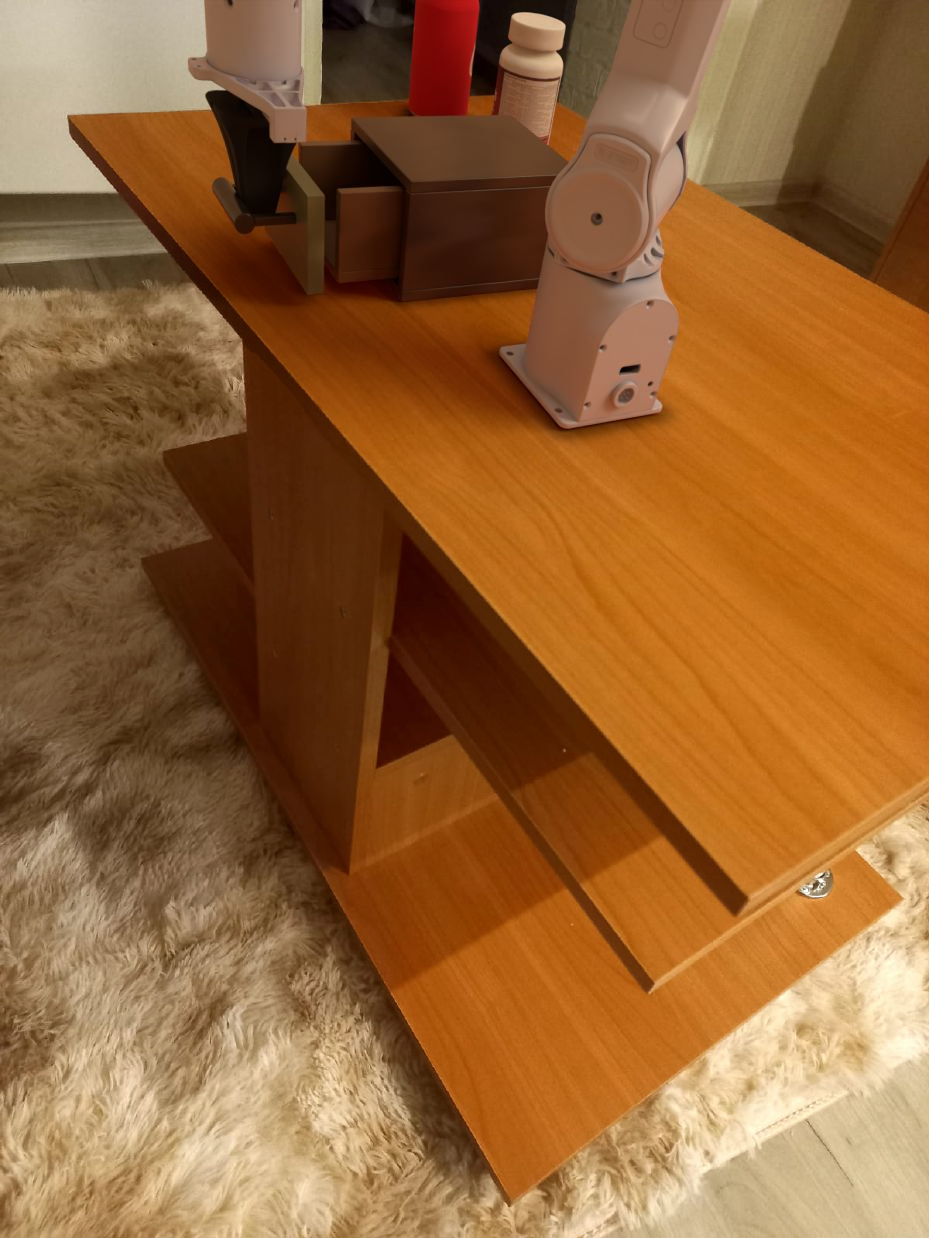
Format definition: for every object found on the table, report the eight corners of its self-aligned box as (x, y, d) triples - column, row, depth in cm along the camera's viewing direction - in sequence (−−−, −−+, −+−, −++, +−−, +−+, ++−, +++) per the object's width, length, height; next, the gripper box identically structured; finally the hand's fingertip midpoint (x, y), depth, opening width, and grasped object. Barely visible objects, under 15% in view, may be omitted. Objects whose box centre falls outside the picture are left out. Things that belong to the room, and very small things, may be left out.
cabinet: (401, 302, 64) (411, 181, 58) (347, 232, 71) (351, 117, 65) (558, 286, 69) (583, 173, 63) (494, 222, 76) (511, 114, 70)
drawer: (247, 301, 60) (241, 200, 55) (208, 233, 66) (200, 136, 61) (466, 280, 66) (479, 187, 61) (413, 220, 72) (420, 131, 67)
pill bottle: (498, 134, 91) (517, 6, 83) (554, 149, 90) (578, 21, 82) (478, 151, 87) (496, 18, 79) (536, 168, 86) (560, 35, 78)
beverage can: (468, 114, 94) (484, -20, 85) (463, 133, 90) (479, -6, 81) (411, 104, 94) (422, -32, 85) (403, 123, 90) (413, -18, 81)
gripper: (155, -59, 54) (175, 169, 64) (216, 16, 46) (228, 265, 56) (267, -51, 57) (270, 167, 67) (344, 22, 48) (333, 258, 58)
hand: (258, 212), depth 61 cm, fingers closed, pressing on drawer
